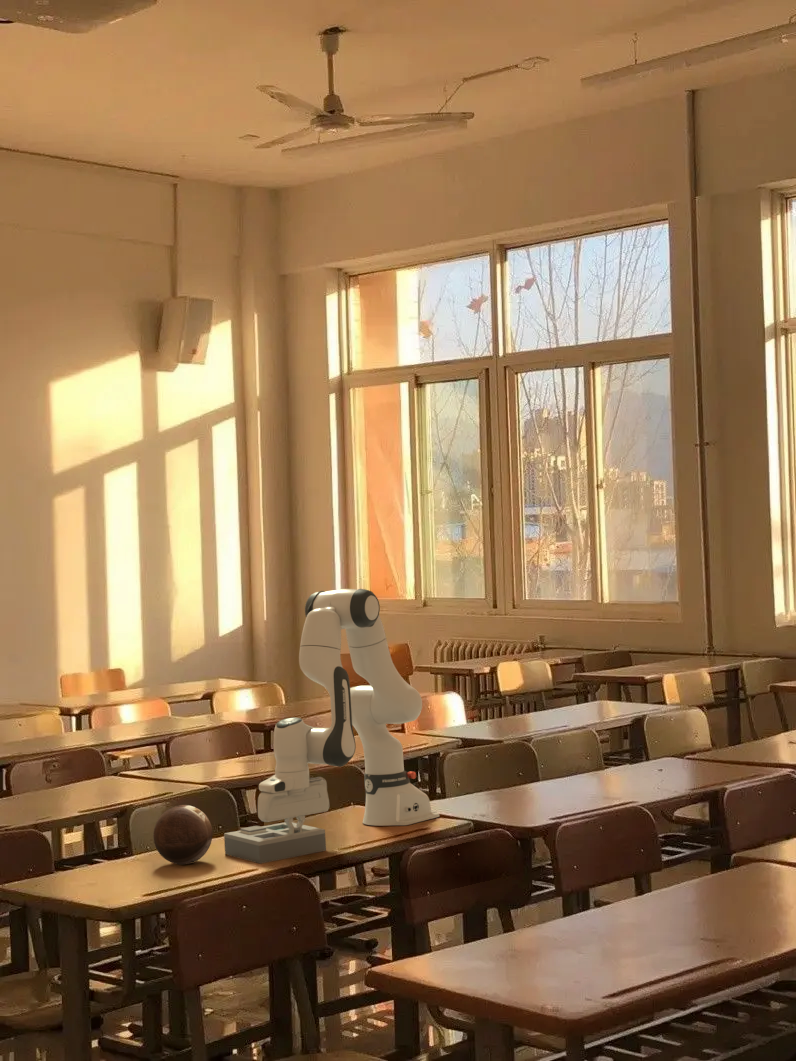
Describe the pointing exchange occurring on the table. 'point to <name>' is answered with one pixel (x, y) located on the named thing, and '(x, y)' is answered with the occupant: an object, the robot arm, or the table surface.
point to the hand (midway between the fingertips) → (295, 833)
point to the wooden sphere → (182, 834)
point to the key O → (252, 830)
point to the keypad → (275, 843)
